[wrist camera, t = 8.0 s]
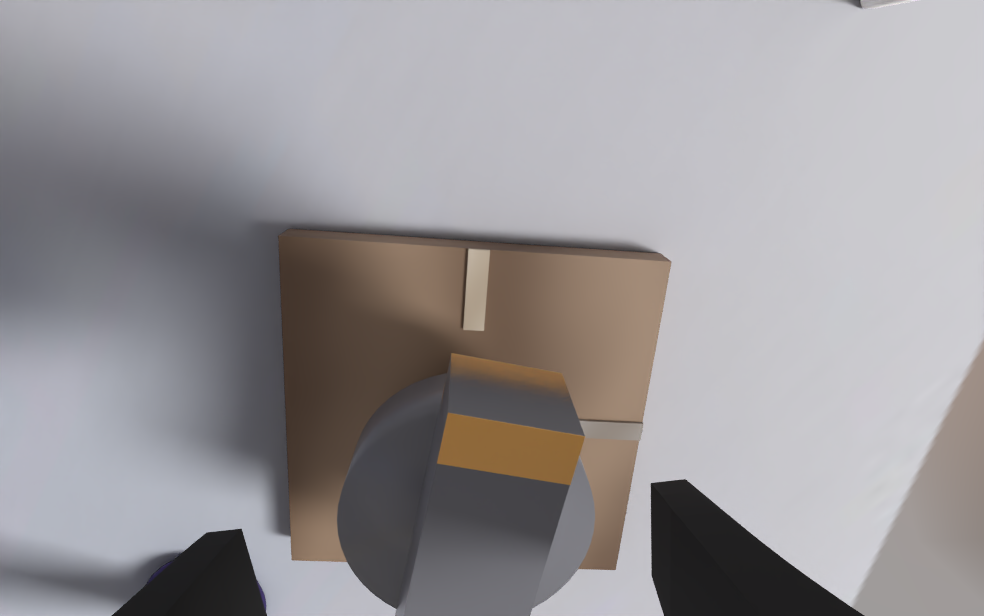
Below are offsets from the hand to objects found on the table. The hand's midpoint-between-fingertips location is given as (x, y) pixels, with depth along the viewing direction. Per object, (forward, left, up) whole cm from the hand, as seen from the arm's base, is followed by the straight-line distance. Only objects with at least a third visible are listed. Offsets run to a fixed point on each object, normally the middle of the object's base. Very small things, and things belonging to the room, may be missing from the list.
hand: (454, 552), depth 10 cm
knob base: (0, -2, -9) cm, 9 cm away
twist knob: (0, -2, -5) cm, 5 cm away
